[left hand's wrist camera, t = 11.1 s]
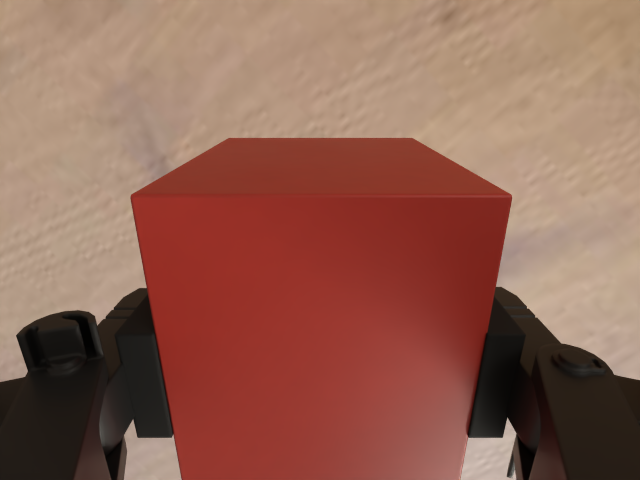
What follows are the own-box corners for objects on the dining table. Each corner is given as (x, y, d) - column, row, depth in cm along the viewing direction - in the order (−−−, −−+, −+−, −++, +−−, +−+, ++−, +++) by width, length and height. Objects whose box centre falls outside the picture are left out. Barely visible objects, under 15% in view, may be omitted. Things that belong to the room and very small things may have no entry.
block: (244, 339, 17) (189, 525, 10) (227, 137, 14) (128, 194, 7) (396, 339, 17) (452, 526, 10) (413, 137, 14) (514, 194, 7)
